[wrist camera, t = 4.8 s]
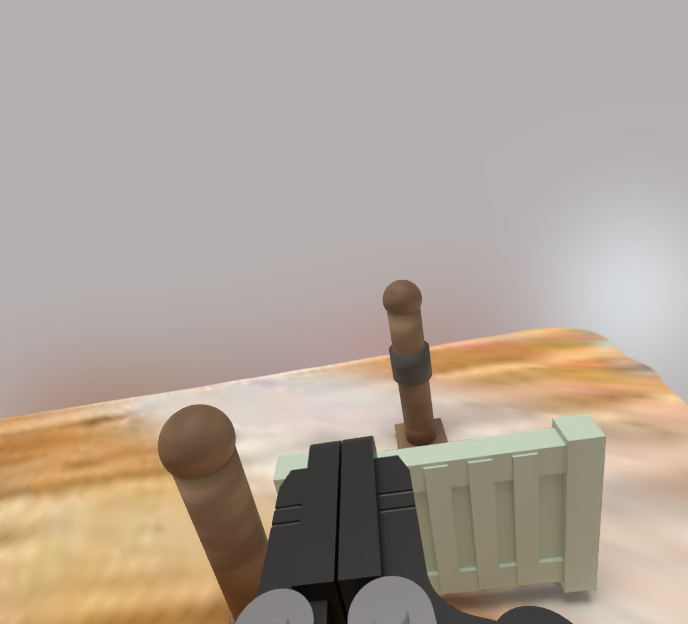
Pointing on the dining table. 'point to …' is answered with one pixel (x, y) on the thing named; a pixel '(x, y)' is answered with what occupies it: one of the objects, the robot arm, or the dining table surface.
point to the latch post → (411, 367)
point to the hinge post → (217, 499)
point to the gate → (506, 506)
